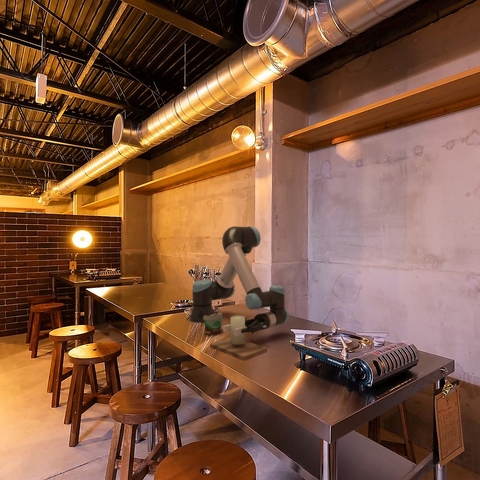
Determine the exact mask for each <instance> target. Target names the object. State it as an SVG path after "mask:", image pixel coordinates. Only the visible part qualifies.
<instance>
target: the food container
mask: <svg viewBox="0 0 480 480" xmlns="http://www.w3.org/2000/svg"><path fill="white" fill-rule="evenodd" d="M223 317H224V315H223V312H222V311H220V310H219V311H218V312H216V313H214V314H211V315H209V316H205V315H204V317H203V320H204V322H203V323H204V324H203V325H204V334H205V335H207V336H213V335H215V336H216V335H218V334H221V332H222V319H223Z"/></svg>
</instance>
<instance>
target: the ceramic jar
mask: <svg viewBox="0 0 480 480" xmlns="http://www.w3.org/2000/svg"><path fill="white" fill-rule="evenodd" d="M245 318H246V317H245V316H244V315H232V316H230V324H231V331H230V337H231V343H232V344H243V343H245V341H246V333H244V334H240V335H237V336H234V329H237V328H240V327H244V326H245Z"/></svg>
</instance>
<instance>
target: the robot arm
mask: <svg viewBox="0 0 480 480" xmlns="http://www.w3.org/2000/svg"><path fill="white" fill-rule="evenodd" d="M261 239H262V237H261V233H260V231H259V230H258V228H256V227H255V226H231V227H228V228H227V229H226V230H225V231H224V233H223V236H222V239H221V240H222V241H221V244H222V248H223V251H224V252H225V254H226V255H228V258H227V260H226V263H225V265H224V267H223V269H222V271H221V273H220V274H218V276H216V278H215V280H213V281H212V280H211V279H199V280H196V281H194V282H193V283H192V308H191V311H190V314H189V321H190V322H193V323H204V320H203V317H204V315H205V316H209V315H211V314H215V311H214V309H213V301H218V300H226V299H229V298H231V297H232V296H233V295H234V294H235V290H236V289H235V288H236V287H235V286H236V285H235V282H234V280H235V278H236V276H237V277H238V279H239V281H240V283H241V286H242V288H243V289H244V292H245V293H246V296H245V297H244V302H245V306H246V308H247V309H249V310H259V309H264V308H269V311H266V312H265V311H264V312H262V313H261V312H260V313H258V314H256V315H255V316H254V317H252V318H250V319H248V318H247V317H245V326H244V327H240V328H237V329H234V336H237V335H240V334H244V333H245V334H246V333H249V334H250V333H251V334H255V333H257V332H260V331H263V330H267V329H270V328H273V327H276V326H279V325H284V324H285V323H287V322H288V321H289V319H290V314H289V312H288V310H287V309H286V307H285V295H286V294H285V287H284V286H282V285H271V286H269V290H268V291H267V290H265V291H263V290H262V288H261V286H260V285H259V282H258V280H257V278H256V275H255V274H254V272H253V270H252V267H251V266H250V264H249V261H248V259H247V257H246V256H247V254H250V253H251V252H252V251H253V248H257V247H258V246H259V245H261V244H260V243H261ZM222 330H223V331H222V332H223V333H227V332H231V323H230V324H226V325H223V326H222Z"/></svg>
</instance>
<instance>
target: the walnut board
mask: <svg viewBox="0 0 480 480" xmlns="http://www.w3.org/2000/svg"><path fill="white" fill-rule="evenodd" d="M209 347H210V348H212V349H214V350H217V351H220V352H223V353H225V354H228V355H231V356H233V357H234V358H238V359H240V360H243V361H246V360H248V359H251V358H254V357H256V356H258V355H261V354H264V353H266V352H268V348H267V347H266V346H262V345H258V344H256V343H254V342H250V341H247V340H245V343H243V344H232V343H231V336H230V337H227V338H223V339H221V340H217V341H214V342H210V343H209Z"/></svg>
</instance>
